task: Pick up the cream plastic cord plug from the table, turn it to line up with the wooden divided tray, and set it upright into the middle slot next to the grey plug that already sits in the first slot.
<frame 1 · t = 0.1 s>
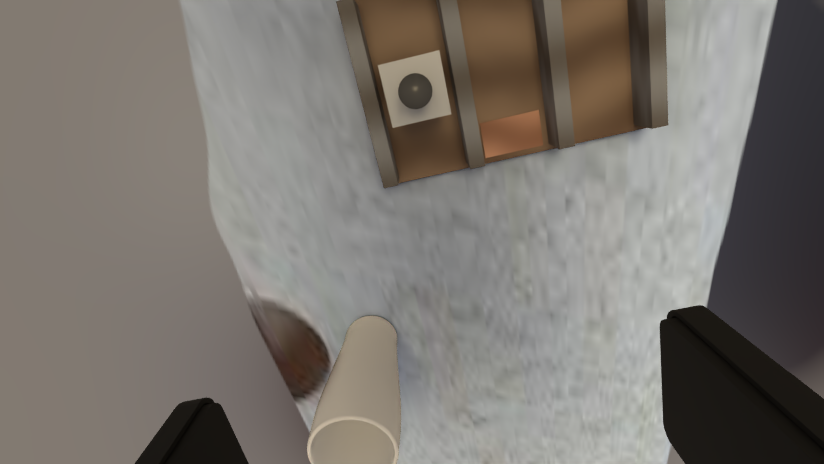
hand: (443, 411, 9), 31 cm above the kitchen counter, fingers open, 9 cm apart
wooden divided tray: (498, 67, 36), on the kitchen counter
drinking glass: (372, 334, 45), on the kitchen counter
grey plug: (415, 87, 35), point 1 cm above the kitchen counter, touching wooden divided tray
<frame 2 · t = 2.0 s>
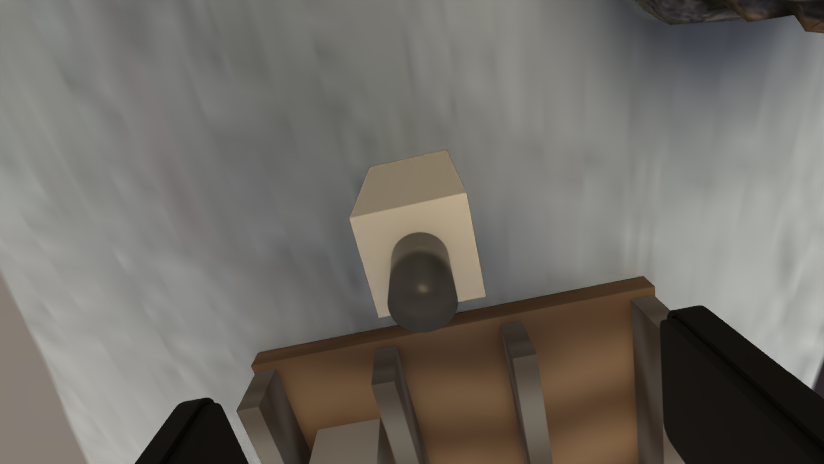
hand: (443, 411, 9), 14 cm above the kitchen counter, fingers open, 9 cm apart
cream plug: (416, 195, 22), on the kitchen counter
wooden divided tray: (466, 413, 28), on the kitchen counter
grey plug: (357, 447, 27), point 1 cm above the kitchen counter, touching wooden divided tray
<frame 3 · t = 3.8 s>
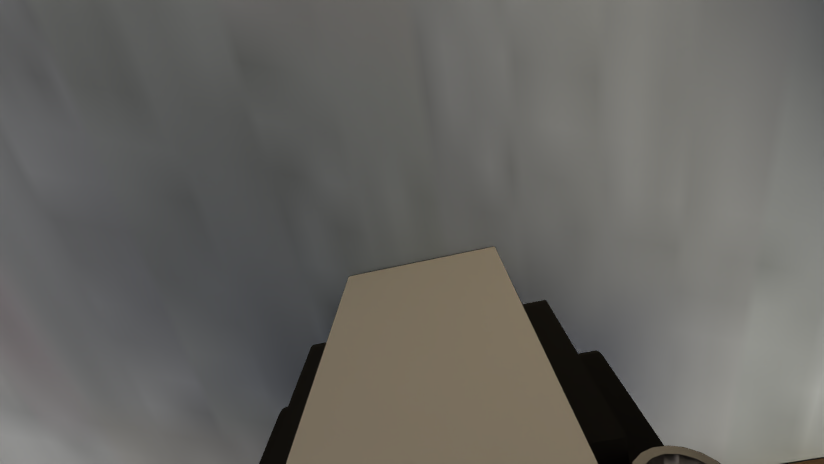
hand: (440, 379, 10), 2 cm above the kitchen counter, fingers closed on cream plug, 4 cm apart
cream plug: (435, 324, 12), on the kitchen counter, touching gripper
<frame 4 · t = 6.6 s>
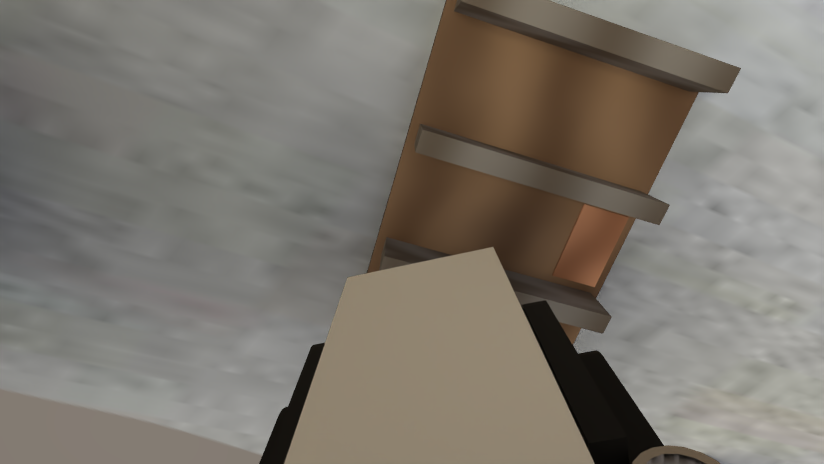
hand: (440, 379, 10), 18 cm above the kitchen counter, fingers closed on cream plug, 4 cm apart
cream plug: (434, 325, 12), point 16 cm above the kitchen counter, touching gripper
wooden divided tray: (504, 217, 28), on the kitchen counter
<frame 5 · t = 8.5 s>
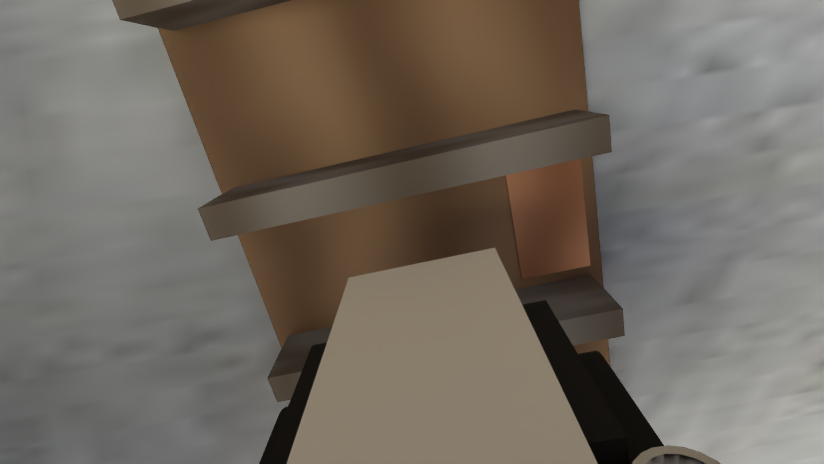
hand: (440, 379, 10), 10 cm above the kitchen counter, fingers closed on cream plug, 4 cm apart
cream plug: (435, 326, 12), point 8 cm above the kitchen counter, touching gripper
wooden divided tray: (420, 236, 19), on the kitchen counter
when the fingers open (5 cm above the kitchen counter, at t = 9.9 s): cream plug drops 1 cm, resting on wooden divided tray.
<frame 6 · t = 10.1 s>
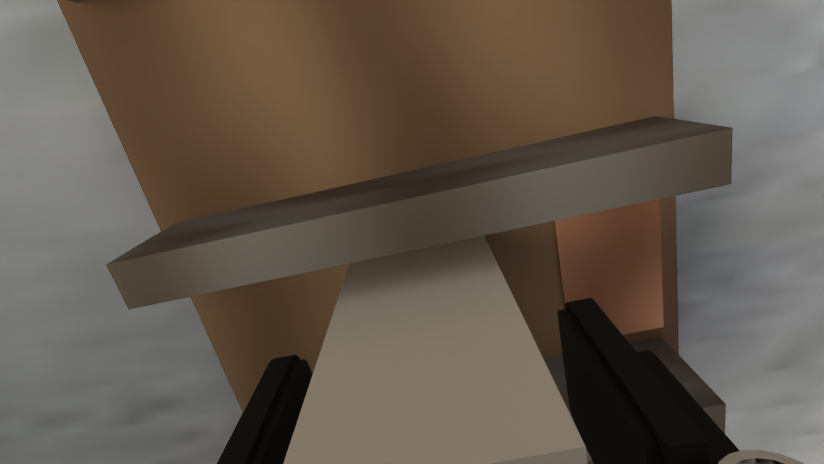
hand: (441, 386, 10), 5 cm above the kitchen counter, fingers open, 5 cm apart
cream plug: (429, 300, 13), point 1 cm above the kitchen counter, touching wooden divided tray
wooden divided tray: (432, 283, 15), on the kitchen counter
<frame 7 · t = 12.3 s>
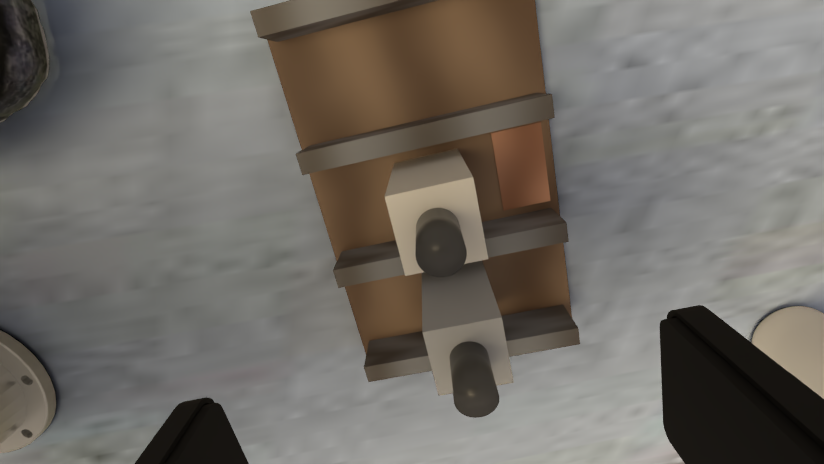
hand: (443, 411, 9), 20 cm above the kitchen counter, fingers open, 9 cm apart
cream plug: (432, 186, 27), point 1 cm above the kitchen counter, touching wooden divided tray
wooden divided tray: (433, 182, 28), on the kitchen counter
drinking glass: (781, 332, 32), on the kitchen counter
grey plug: (456, 286, 29), point 1 cm above the kitchen counter, touching wooden divided tray
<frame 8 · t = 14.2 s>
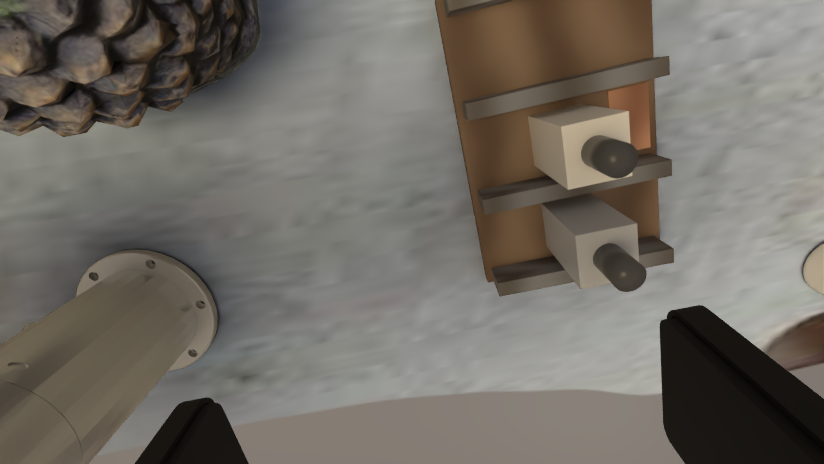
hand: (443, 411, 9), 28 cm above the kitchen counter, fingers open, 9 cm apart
decorative house: (147, 17, 32), on the kitchen counter
cream plug: (556, 135, 34), point 1 cm above the kitchen counter, touching wooden divided tray
wooden divided tray: (553, 133, 35), on the kitchen counter
grey plug: (567, 220, 36), point 1 cm above the kitchen counter, touching wooden divided tray
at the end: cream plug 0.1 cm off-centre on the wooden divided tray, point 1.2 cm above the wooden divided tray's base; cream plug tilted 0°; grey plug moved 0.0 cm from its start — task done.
